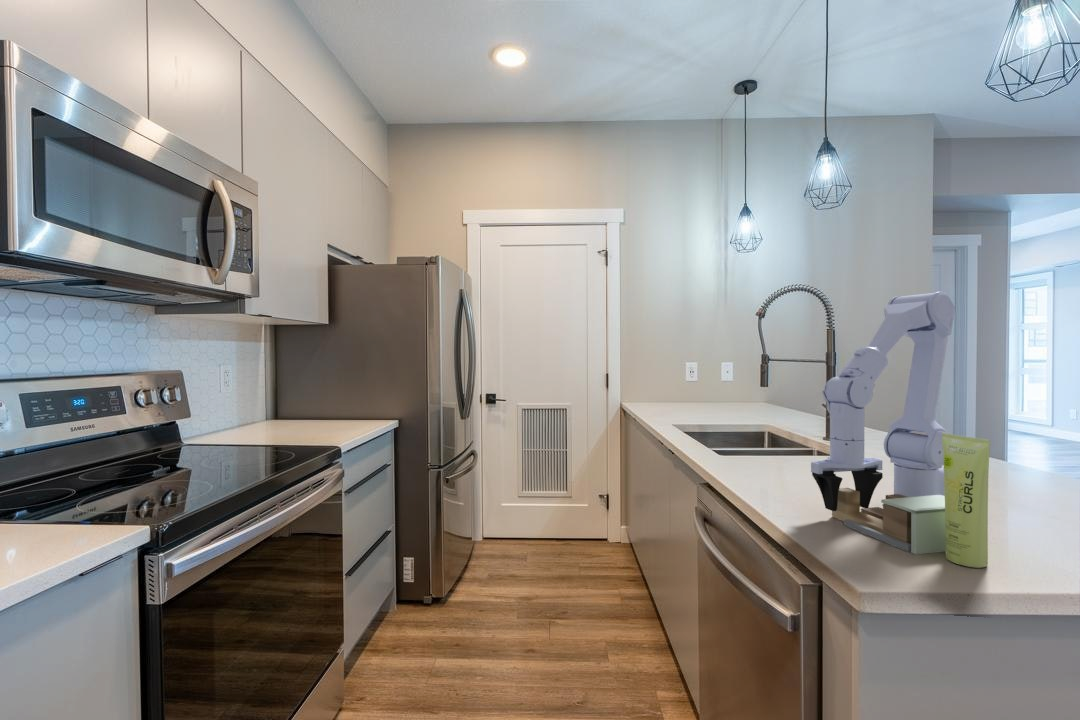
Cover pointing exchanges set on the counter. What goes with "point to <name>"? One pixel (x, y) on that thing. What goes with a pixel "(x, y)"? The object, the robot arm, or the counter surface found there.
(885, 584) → the counter surface
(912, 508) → the shelter
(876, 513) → the block brown
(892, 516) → the cube
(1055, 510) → the counter surface
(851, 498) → the tan stepped wooden piece
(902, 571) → the counter surface
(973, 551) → the tube
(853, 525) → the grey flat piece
